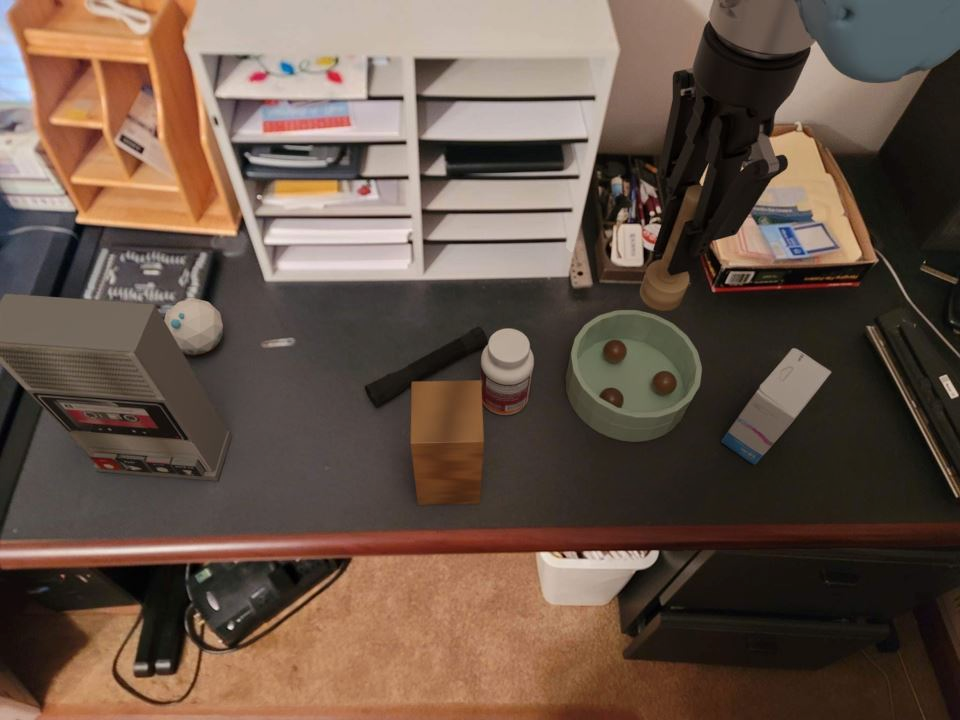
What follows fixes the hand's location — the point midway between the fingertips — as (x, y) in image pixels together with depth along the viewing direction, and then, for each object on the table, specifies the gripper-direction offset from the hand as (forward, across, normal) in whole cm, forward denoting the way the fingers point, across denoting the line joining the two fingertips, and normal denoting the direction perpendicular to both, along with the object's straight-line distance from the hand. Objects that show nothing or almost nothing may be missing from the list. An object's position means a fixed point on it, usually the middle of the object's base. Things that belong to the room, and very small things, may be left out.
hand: (674, 258), depth 68 cm
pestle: (+5, 0, 0) cm, 5 cm away
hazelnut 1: (+21, -4, 0) cm, 22 cm away
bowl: (+24, 0, 0) cm, 24 cm away
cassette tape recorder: (+24, -9, -55) cm, 61 cm away
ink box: (+24, +11, +12) cm, 29 cm away
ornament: (+24, -24, -49) cm, 60 cm away
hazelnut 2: (+21, +2, -4) cm, 22 cm away
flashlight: (+24, -10, -23) cm, 35 cm away
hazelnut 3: (+21, +2, +4) cm, 22 cm away
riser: (+24, +4, -25) cm, 35 cm away
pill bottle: (+24, -4, -15) cm, 28 cm away
